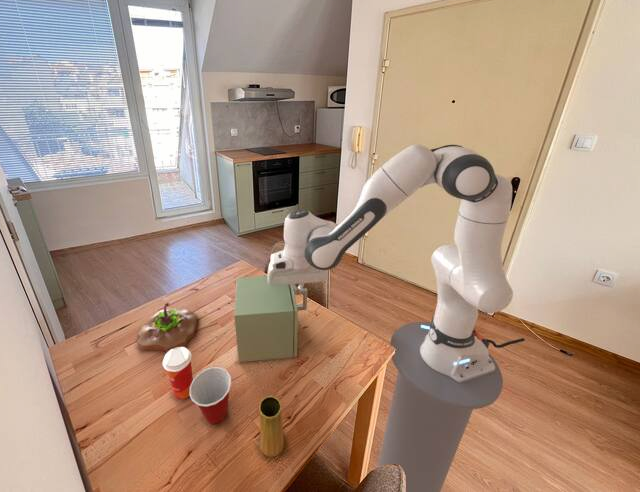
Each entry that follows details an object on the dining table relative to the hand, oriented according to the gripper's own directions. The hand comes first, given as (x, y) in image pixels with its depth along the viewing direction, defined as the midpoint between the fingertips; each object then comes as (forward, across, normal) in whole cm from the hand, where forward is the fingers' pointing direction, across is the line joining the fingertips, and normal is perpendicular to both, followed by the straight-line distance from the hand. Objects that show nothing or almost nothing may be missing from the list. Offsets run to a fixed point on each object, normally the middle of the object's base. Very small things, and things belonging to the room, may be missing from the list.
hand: (297, 292), depth 101 cm
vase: (+18, +12, +37) cm, 43 cm away
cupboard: (+17, +12, +2) cm, 21 cm away
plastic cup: (+17, +27, +28) cm, 43 cm away
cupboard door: (+17, -1, +2) cm, 17 cm away
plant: (+17, +47, -5) cm, 50 cm away
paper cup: (+17, +37, +20) cm, 45 cm away
